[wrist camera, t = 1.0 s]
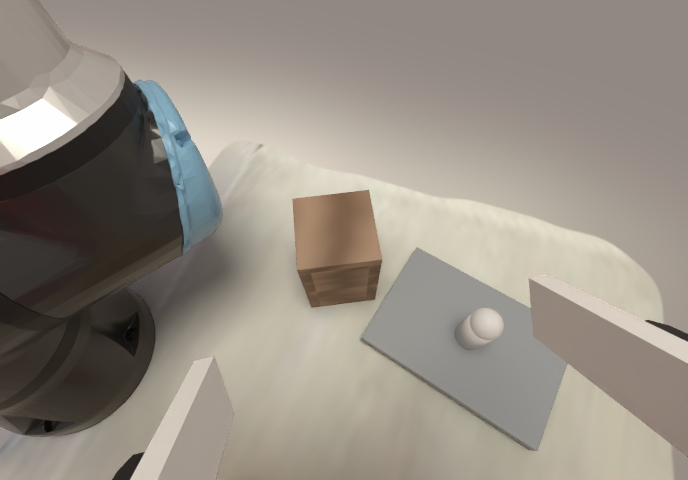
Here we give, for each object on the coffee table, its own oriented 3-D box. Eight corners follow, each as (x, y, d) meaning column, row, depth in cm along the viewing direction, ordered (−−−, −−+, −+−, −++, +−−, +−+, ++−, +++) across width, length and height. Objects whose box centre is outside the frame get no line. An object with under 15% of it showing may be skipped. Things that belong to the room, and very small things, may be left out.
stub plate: (361, 340, 36) (363, 322, 29) (414, 252, 40) (427, 218, 33) (529, 449, 31) (580, 460, 24) (569, 336, 35) (622, 317, 28)
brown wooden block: (311, 307, 38) (297, 270, 28) (307, 250, 41) (292, 198, 31) (374, 299, 38) (381, 259, 28) (365, 243, 41) (368, 190, 31)
